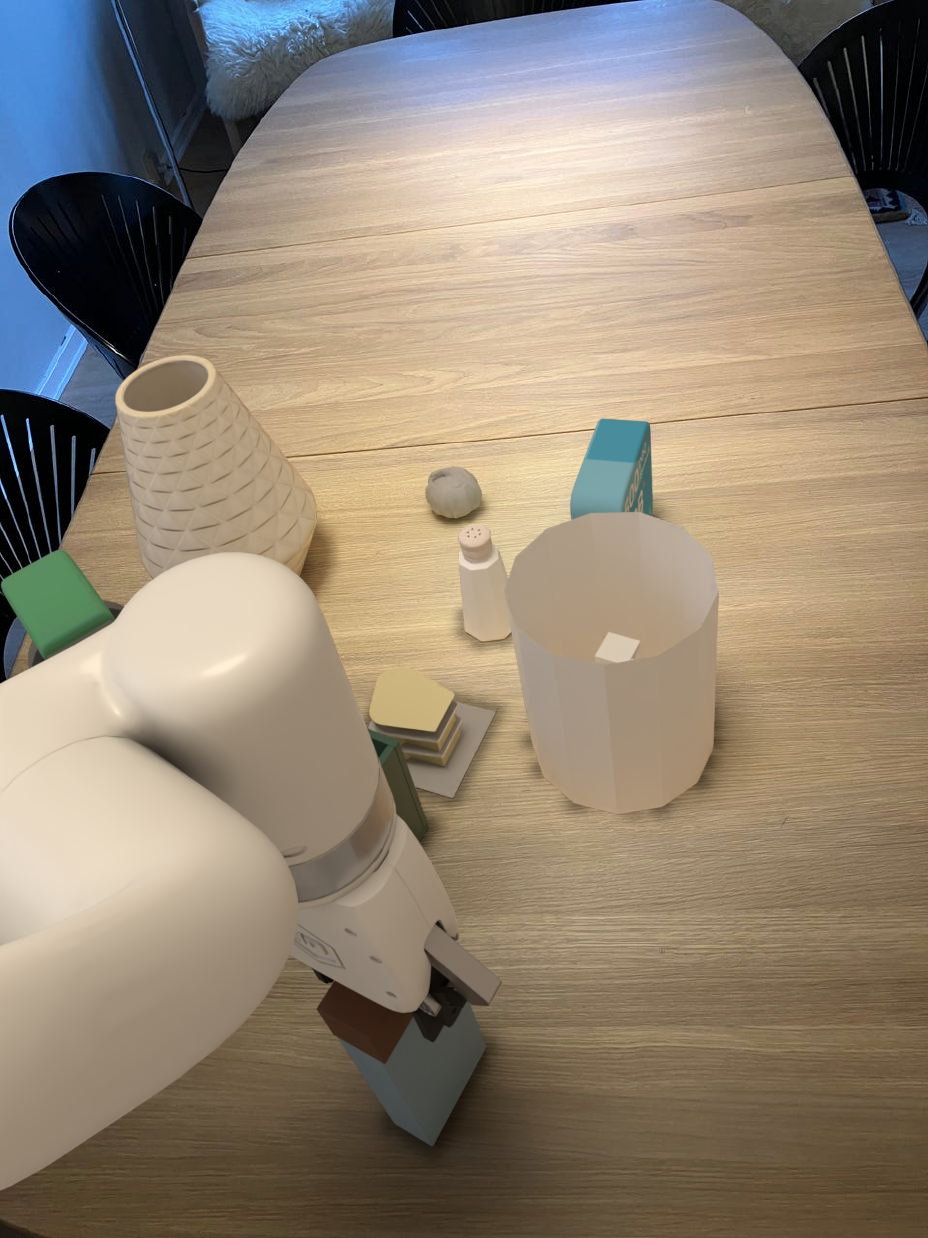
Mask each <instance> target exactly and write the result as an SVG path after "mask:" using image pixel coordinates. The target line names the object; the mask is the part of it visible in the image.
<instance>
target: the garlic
mask: <svg viewBox="0 0 928 1238" xmlns="http://www.w3.org/2000/svg"><path fill="white" fill-rule="evenodd" d="M424 494H425V500H426V502H427V504H428V505H429V506H430V509H431V510H432V511H433V512H434V514H435V515H440V516H444V517H445V518H448V519H452V518H454V519H459V518H462V517H465V516H467V515H469V514H470V513H471V512H472V511H474V510H476V509H478V507H480V505H481V503H482V499H483V498H482V497H483V491H482V487H481V486H480V484H479V482H478V480H477V478H476V476H475V475H474V474H473V473H472V472H470V471H469V470H468V469H466V468H464V467H461V466H453V465H452V466H448V467H443V468H439V469H437V470H434V471H432V472H430V474H429V475H428V480H427V485H426V486H425V492H424Z"/></svg>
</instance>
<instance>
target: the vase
mask: <svg viewBox="0 0 928 1238" xmlns="http://www.w3.org/2000/svg"><path fill="white" fill-rule="evenodd" d="M114 401H115V402H114V403H115V408H116V414H117V421H118V427H119V433H120V441H121V448H122V453H123V454H122V455H123V460H124V461H123V462H124V466H125V474H126V480H127V487H128V492H129V498H130V506H131V512H132V518H133V524H134V530H135V538H136V544H137V551H138V556H139V560H140V563H141V565H142V567H143V568H144V571H145V572H146V573H147V575H148V576H149V577H150V578H151V580H153V579H154V578H156V577H157V576H159V575H160V574H162V573H163V572H165V571H167V570H169V569H171V568H173V567H175V566H177V565H179V564H182V563H184V562H186V561H189V560H192V559H195V558H199V557H202V556H206V555H211V554H217V553H224V552H243V553H251V554H257V555H260V556H264V557H267V558H270V559H273V560H275V561H277V562H279V563H281V564H283V565H285V566H287V567H288V568H289V569H291V570H292V571H293V572H294V573H296V574H297V575H298V576H299V577H301V574H302V571H303V568H304V564H305V561H306V558H307V554H308V552H309V549H310V545H311V542H312V538H313V535H314V532H315V529H316V525H317V520H318V504H317V500H316V497H315V494H314V492H313V490H312V488H311V487H310V485H309V484H308V483H307V482H306V480H305V479H304V478H303V476H301V474H300V473H299V471H298V470H297V468H296V467H295V466H294V465H293V464H292V463H291V462H290V460H289V459H288V457H287V456H286V455H285V453H283V452H282V449H280V447H279V446H278V445H277V444H276V442H275V441H274V440H273V438H272V437H271V436H270V435H269V434H268V432H267V431H266V429H264V427H263V426H262V424H261V423H260V422H259V420H257V418H256V417H255V416H254V415H253V412H251V410H250V409H249V408H248V407H247V405H245V403H244V402H243V400H242V399H241V398H240V397H239V395H238V394H237V393H236V392H235V390H234V389H233V388H232V387H231V385H230V384H229V383H228V381H227V380H226V379H225V378H224V376H223V375H222V374H221V372H220V371H219V370H218V369H217V368H216V366H215V365H214V363H213V362H211V361H210V360H209V359H207V358H205V357H203V356H199V355H193V354H178V355H172V356H166V357H162V358H159V359H156V360H154V361H151V362H149V363H147V364H144V365H142V366H140V367H139V368H138V369H136V370H135V371H133V372H132V373H131V374H129V375H128V376H127V377H126V378H125V379H124V380H123V381H122V382H121V384H120V385H119V386H118V388H117V390H116V393H115V397H114Z"/></svg>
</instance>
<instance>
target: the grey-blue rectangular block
mask: <svg viewBox="0 0 928 1238" xmlns="http://www.w3.org/2000/svg"><path fill="white" fill-rule="evenodd" d="M336 1038H337V1039H338V1041H339V1042H340V1044H341V1045H342V1047H343V1048H344V1050H345V1051H346V1053H347V1055H348V1056H349V1057H350V1059H351V1060H352V1062H353V1064H354V1065H355V1066H356V1068H357V1069H358V1071H359V1072H360V1074H361V1076H362V1077H363V1079H364V1080H365V1081H366V1084H368V1087H370V1089H371V1091H372V1092H373V1094H374V1095H375V1097H376V1099H378V1101H379V1103H380V1104H381V1106H382V1107H383V1109H384V1110H385V1112H386V1113H387V1115H388V1116H389V1118H390V1119H391V1121H392V1122H393V1124H394V1125H396V1126H398V1128H400V1129H402V1130H404V1131H406V1132H407V1133H409V1134H411V1135H412V1136H414V1137H416V1138H418V1139H419V1140H420V1141H422V1142H424V1143H426V1144H427V1145H429V1146H431V1147H433V1146H434V1145H435V1144H436V1141H437V1139H438V1138H439V1136H440V1134H441V1133H442V1130H443V1128H444V1127H445V1125H446V1123H447V1121H448V1119H449V1117H450V1116H451V1114H452V1112H453V1110H454V1108H455V1106H456V1105H457V1103H458V1101H459V1099H460V1097H461V1095H462V1094H463V1091H464V1089H465V1088H466V1085H467V1084H468V1082H469V1080H470V1078H471V1077H472V1075H473V1073H474V1071H475V1069H476V1067H477V1065H478V1064H479V1061H480V1060H481V1059H482V1056H483V1055H484V1053H485V1050H486V1049H487V1044H486V1041H485V1039H484V1036H483V1033H482V1031H481V1028H480V1025H479V1023H478V1021H477V1018H476V1015H475V1013H474V1010H473V1008H472V1005H471V1004H470V1003H469V1002H466V1004H465V1006H464V1007H463V1008H462V1010H461V1012H460V1014H459V1016H458V1018H457V1019H456V1021H455V1023H454V1024H453V1025H452V1026H451V1027H450V1028H448V1027H446V1026H445V1025H444V1027H443V1028H442V1030H441V1032H440V1034H439V1035H438V1037H437V1039H436V1040H435V1041H434V1042H431V1041H429V1040H427V1039H425V1038H424V1037H423V1035H422V1033H421V1031H420V1029H419V1027H418V1025H417V1023H416V1021H415V1019H414V1017H413V1018H412V1020H411V1022H410V1023H409V1025H408V1027H407V1028H406V1030H405V1032H404V1033H403V1035H402V1037H401V1039H400V1040H399V1042H398V1044H397V1045H396V1047H395V1049H394V1050H393V1052H392V1054H391V1055H390V1057H389V1059H388V1061H387V1062H386V1064H383V1063H382V1062H380V1061H378V1060H376V1059H375V1058H373V1057H371V1056H369V1055H368V1054H366V1053H364V1052H363V1051H361V1050H359V1049H357V1048H356V1047H354V1046H352V1045H350V1044H349V1043H347V1042H345V1041H344V1040H342V1039H340V1038H338V1037H337V1036H336Z"/></svg>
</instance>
